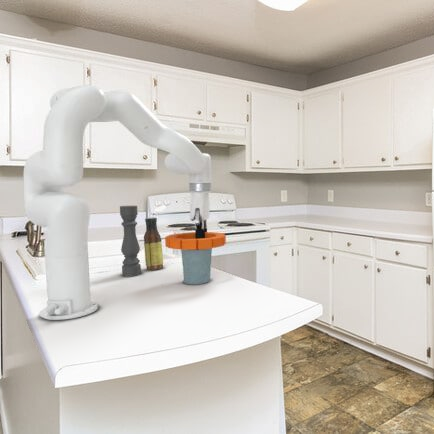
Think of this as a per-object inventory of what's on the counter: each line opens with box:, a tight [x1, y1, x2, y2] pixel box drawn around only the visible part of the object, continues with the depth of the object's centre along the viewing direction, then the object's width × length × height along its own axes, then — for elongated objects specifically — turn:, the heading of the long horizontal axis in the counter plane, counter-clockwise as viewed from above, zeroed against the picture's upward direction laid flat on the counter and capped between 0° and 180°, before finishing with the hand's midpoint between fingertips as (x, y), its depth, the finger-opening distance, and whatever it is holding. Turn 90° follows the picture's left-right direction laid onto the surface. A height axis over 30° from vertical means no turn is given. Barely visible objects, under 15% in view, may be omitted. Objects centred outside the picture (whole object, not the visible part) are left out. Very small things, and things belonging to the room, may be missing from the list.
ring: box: [164, 231, 227, 250], centre depth 138 cm, size 19×19×3 cm
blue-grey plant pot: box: [180, 248, 213, 285], centre depth 139 cm, size 10×10×12 cm
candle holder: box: [119, 205, 142, 278], centre depth 147 cm, size 6×6×25 cm
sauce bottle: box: [143, 216, 164, 271], centre depth 156 cm, size 7×6×20 cm
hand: (201, 239), depth 146 cm, fingers closed on ring, 2 cm apart
